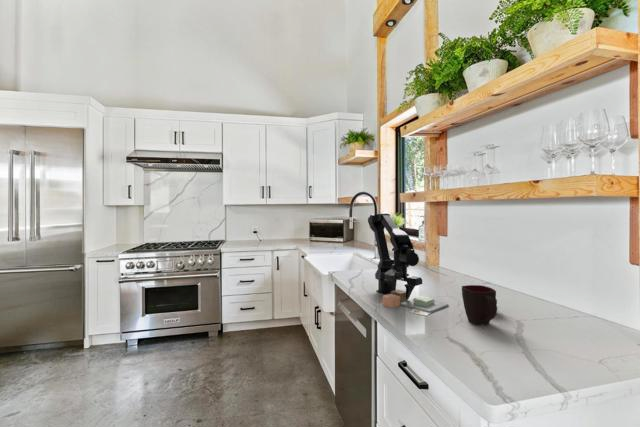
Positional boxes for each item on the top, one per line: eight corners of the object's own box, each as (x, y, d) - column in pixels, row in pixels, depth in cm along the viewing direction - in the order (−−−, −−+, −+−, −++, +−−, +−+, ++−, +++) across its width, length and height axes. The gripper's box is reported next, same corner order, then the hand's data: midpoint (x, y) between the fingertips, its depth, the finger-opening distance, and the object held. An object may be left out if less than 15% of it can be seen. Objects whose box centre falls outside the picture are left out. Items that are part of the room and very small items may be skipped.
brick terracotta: (382, 305, 134) (382, 295, 134) (390, 303, 137) (390, 293, 137) (392, 308, 130) (392, 298, 130) (399, 305, 133) (399, 296, 133)
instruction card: (408, 312, 124) (408, 311, 124) (414, 309, 128) (414, 308, 128) (426, 316, 120) (426, 314, 120) (431, 312, 124) (431, 311, 124)
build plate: (399, 304, 134) (399, 298, 134) (418, 298, 143) (418, 292, 143) (429, 313, 123) (429, 306, 123) (448, 305, 132) (448, 299, 132)
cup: (483, 317, 118) (483, 284, 118) (508, 331, 105) (508, 294, 104) (457, 318, 118) (457, 285, 117) (479, 332, 104) (479, 295, 104)
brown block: (391, 300, 141) (391, 291, 141) (398, 298, 144) (398, 289, 144) (400, 302, 137) (400, 293, 137) (407, 300, 140) (407, 291, 140)
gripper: (371, 261, 142) (371, 296, 143) (407, 267, 128) (407, 306, 128) (387, 259, 150) (387, 292, 150) (423, 264, 135) (423, 301, 136)
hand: (400, 297), depth 141 cm, fingers open, 7 cm apart
